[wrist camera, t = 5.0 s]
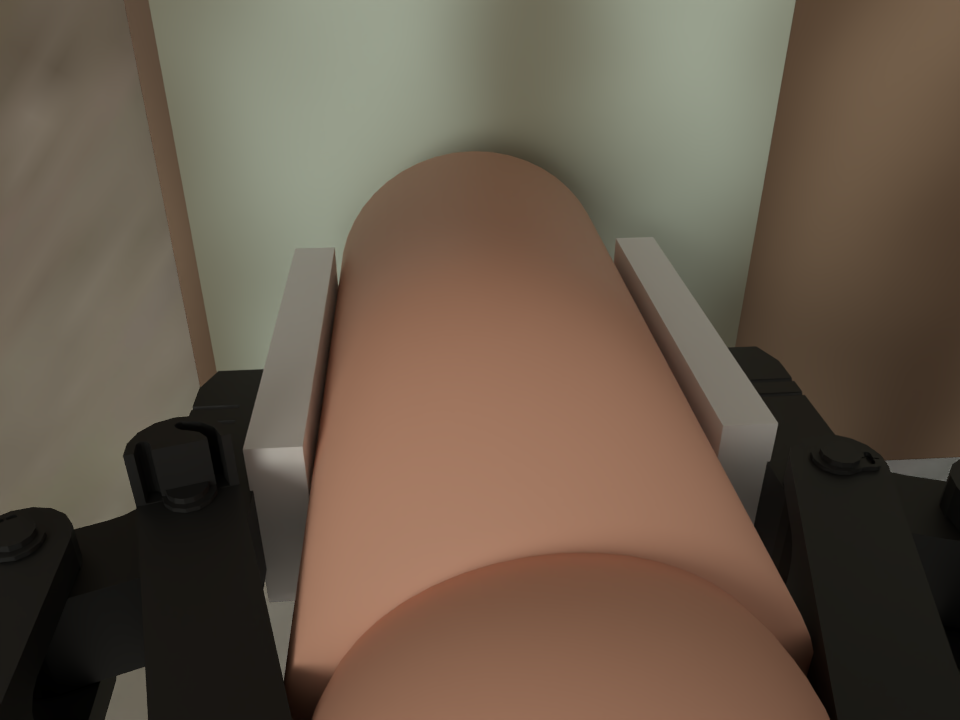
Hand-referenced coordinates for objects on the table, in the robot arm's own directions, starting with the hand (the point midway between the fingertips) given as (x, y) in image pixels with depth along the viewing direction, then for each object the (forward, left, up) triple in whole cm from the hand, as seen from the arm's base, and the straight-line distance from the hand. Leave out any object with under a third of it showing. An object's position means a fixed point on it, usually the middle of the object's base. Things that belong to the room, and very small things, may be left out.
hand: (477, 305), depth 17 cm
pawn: (0, 0, -1) cm, 1 cm away
